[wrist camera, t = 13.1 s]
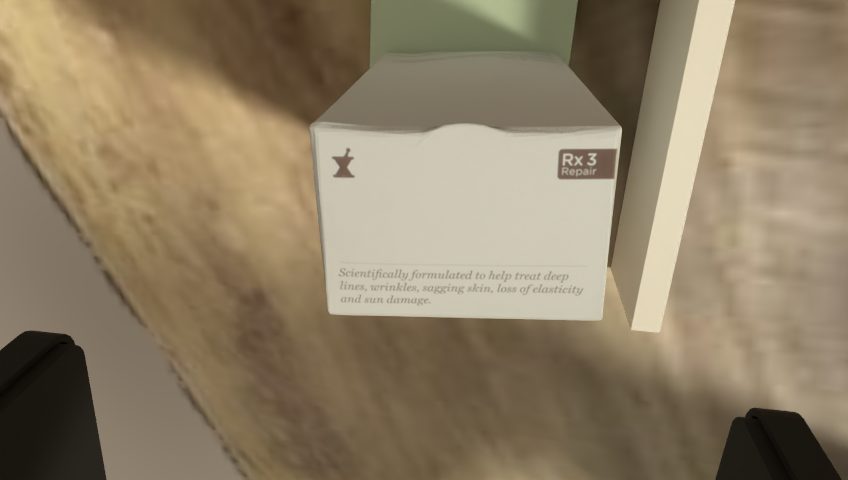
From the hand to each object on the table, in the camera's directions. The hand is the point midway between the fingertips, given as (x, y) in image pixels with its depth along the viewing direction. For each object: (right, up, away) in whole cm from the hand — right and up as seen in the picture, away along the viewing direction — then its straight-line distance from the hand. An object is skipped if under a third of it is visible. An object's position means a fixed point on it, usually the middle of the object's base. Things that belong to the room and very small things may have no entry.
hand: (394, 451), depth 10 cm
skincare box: (+3, +9, +22) cm, 24 cm away
